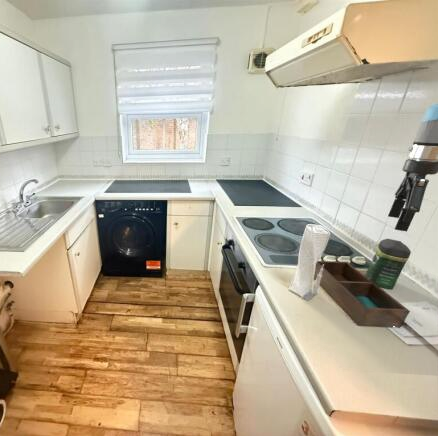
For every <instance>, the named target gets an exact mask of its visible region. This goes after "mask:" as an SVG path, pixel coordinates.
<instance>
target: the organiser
mask: <svg viewBox="0 0 438 436" xmlns="http://www.w3.org/2000/svg"><path fill="white" fill-rule="evenodd" d="M323 264H324V266H323ZM322 266H323V271H322V278H321V280H320V284H319V287H321V288H322V290H323V291H325V292H326V294H327V295H328V296H330V298H331V299H332V300H333V301H334V302H335V303H336V304H337V305H338V306H339V307H340V309H342V311H343V312H344V313H345V314H346V315H347V316H348V317H349V318H350V319H351V320H352V321H353V323H354V324H355V325H357V327H371V328H373V327H374V328H375V327H376V328H392V327H393V326H395V327H401V328H402V327H403V325H404V323H405V321H406V320H407V317H408V316H409V314H410V312H411V311H410V310H409V309H408V308H407V307H406V306H404V305H403V304H402V303H400V302H399V301H398V300H397V299H396V298H394V297H393V296H392V295H390V294H389V293H387V292H386V291H385V289H383V288H380V287H379V286H377V285H376V284H375V283H373V282H372V281H371V280H370V279H368V278H367V277H366V276H365V274H363V273H362V272H361V271H360V270H358V269H357V268H356V267H355V266H353V265H352V264H350V262H348V261H333V260H331V261H329V260H318V262H317V263H316V266H315V274H314V279H313V280H314V281H316V278H317V274H319V272H320V269H321V268H322Z"/></svg>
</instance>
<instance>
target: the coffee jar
mask: <svg viewBox="0 0 438 436" xmlns="http://www.w3.org/2000/svg"><path fill="white" fill-rule="evenodd" d="M411 253H412V251H411V249H410V248H409V247H408V246H407V245H406V244H404V243H403V242H402V241H401V240H397V239H392V238H385V239H382V240H380V241H379V243H378V245H377V247H376V250H375V252H374V254H373V257H372V260H371V261H370V264H369V266H368V268H367V270H366V272H365V274H364V275H365V276H366V277H367V278H368V279H370V280H371V281H372V282H373V283H375V284H376V285H377V286H379V287H380V288H381V289H382V290H390V291H392V290H394V288H395V287H396V284H397V281H398V280H399V278H400V276H401V273H402V271H403V269H404V267H405V265H406V263H407V262H408V261H409V259H410V256H411Z"/></svg>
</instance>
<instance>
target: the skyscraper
mask: <svg viewBox="0 0 438 436" xmlns="http://www.w3.org/2000/svg"><path fill="white" fill-rule="evenodd" d="M330 236H331V232H330V230H329V228H326V227H324V225H320V224H314V223H313V224H312V223H309V224H306V225H305V228H304V231H303V234H302V238H301V240H300V245H299V251H298V257H297V265H296V268H295V270H294V271H293V275H292V277H291V281H290V283H289V287H288V291H289V292H291V293H292V294H295V295H296V296H298V297H300V298H301V299H303V300H305V301H306V302H309V301H310V300H312V299H313V298H315V296H318V294H319V293H318V291H319V287H320V285H319V284H320V280H321V278H322V271H323V266H324V264H323V266H322V268H321V269H320V272H319V274H317V278H316V280H315V279H314V274H315V266H316V263H317V262H318V261H320V259H321V257H322V256H323V254H324V252H325V250H326V248H327V245H328V243H329V240H330Z"/></svg>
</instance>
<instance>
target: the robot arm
mask: <svg viewBox="0 0 438 436" xmlns="http://www.w3.org/2000/svg"><path fill="white" fill-rule="evenodd" d="M426 109H427V110H426V112H425V114H424V116H423V118H422V120H421V121H420V125H419V127H418V130H417V132H416V135H415V136H414V137H415V138H414V140H413V143H412V145H411V147H408V148H407V151H408V152H409V153H408V155H407V157H408V158H407V159H406V160H405V161H404V164H403V167H402V171H403V172H405V176H404V178H403V179H402V181H401V182H400V185H399V187H398V188H397V190H396V191H395V193H394V198H395V199H394V200H393V203H392V205H391V207H390V209H389V213H388V215H387V217H389V218H395V219H398V220H397V222H396V224H395V227H394V230H395V231H401V232H407V233H408V230H409V228H410V226H411V223H412V222H413V219H414V217H415V215H416V213H420V211H421V207H422V203H423V200H424V196H425V194H426V189H427V187H428V184H429V182H430V180H429V179H426V178H427V175H431V176H433V175H436V174H438V104H437V103H436V104H432V105H430V106H429V107H428V108H426Z"/></svg>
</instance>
